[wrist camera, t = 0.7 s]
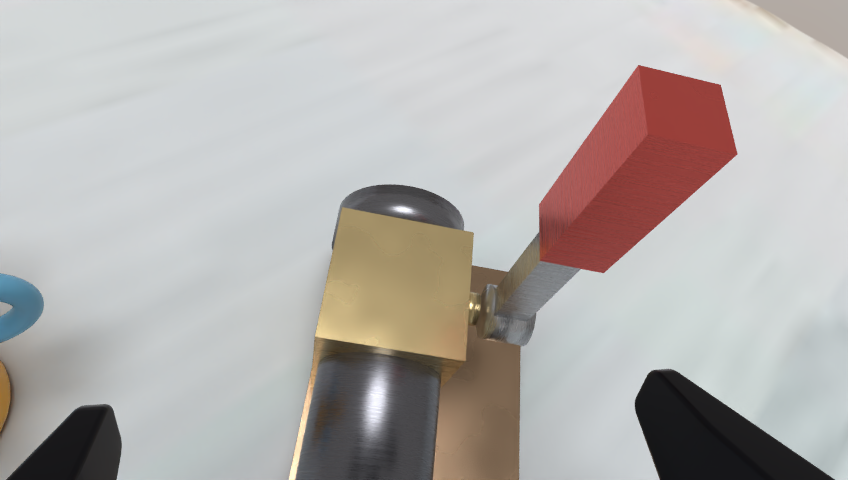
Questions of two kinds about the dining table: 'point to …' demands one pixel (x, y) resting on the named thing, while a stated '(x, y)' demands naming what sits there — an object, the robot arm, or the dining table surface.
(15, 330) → the orange post with rings
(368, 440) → the valve
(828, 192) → the dining table surface
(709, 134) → the lever
